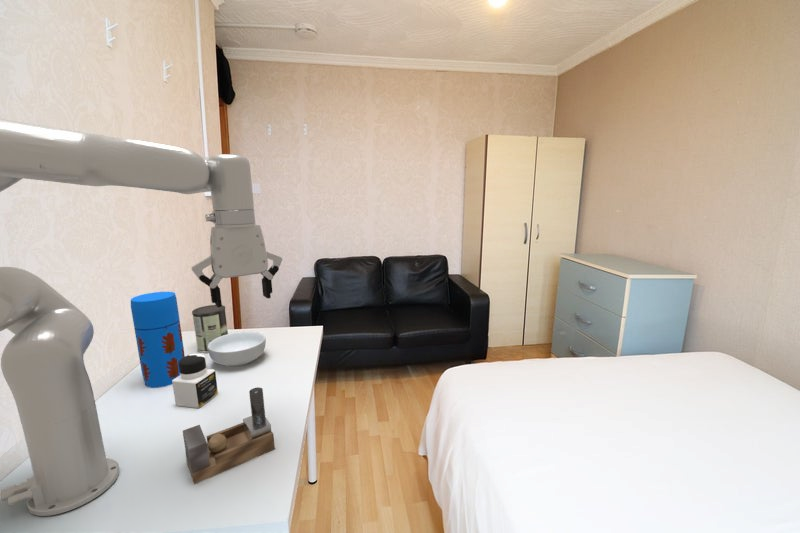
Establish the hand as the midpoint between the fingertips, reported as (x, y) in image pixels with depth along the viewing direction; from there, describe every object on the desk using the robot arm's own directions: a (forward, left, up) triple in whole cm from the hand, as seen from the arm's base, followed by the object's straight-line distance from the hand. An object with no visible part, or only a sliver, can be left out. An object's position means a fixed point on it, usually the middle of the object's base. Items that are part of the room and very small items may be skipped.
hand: (243, 301), depth 76 cm
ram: (-1, -5, -28) cm, 28 cm away
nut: (-9, -4, -28) cm, 30 cm away
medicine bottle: (-8, +24, -31) cm, 39 cm away
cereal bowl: (+7, +40, -31) cm, 51 cm away
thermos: (-13, +42, -31) cm, 54 cm away
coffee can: (+3, +58, -31) cm, 66 cm away
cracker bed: (-6, -4, -30) cm, 31 cm away
